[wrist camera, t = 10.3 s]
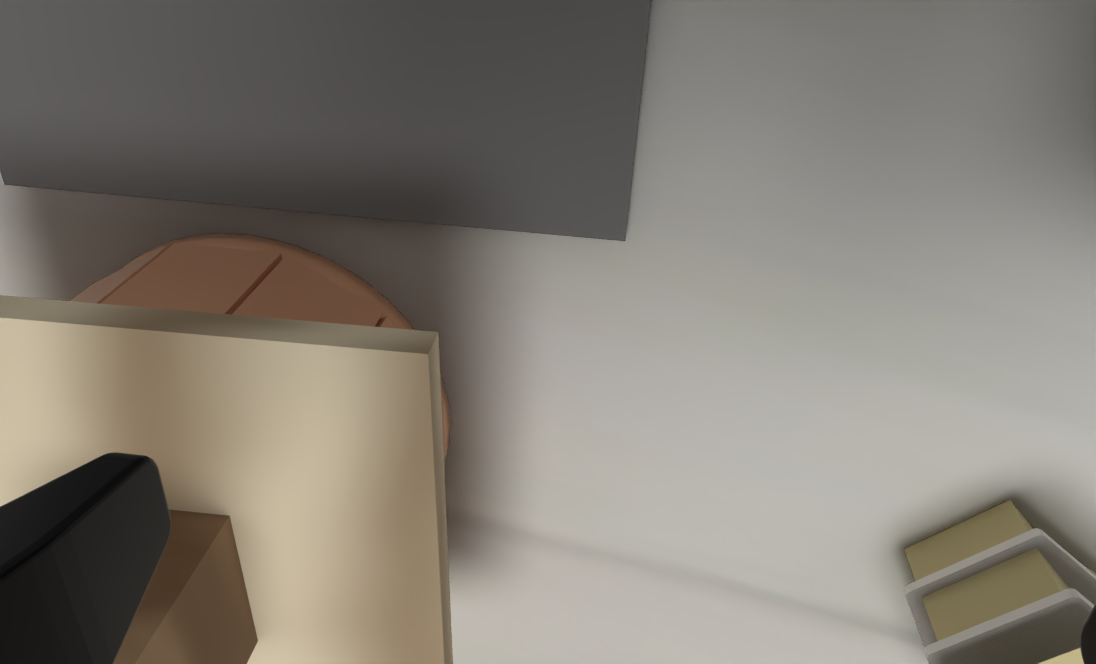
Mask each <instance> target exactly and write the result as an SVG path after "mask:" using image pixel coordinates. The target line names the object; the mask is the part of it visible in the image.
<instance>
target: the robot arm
mask: <svg viewBox="0 0 1096 664" xmlns="http://www.w3.org/2000/svg"><path fill="white" fill-rule="evenodd" d="M170 532H171V516H170V512H169V508H168V504H167V500H166V496H165V492H164V488H163V484H162V480H161V476H160V472H159V468H158V466H157V464H156V462H155V461H154V460H153V459H152V458H150V457H148V456H145V455H136V454H127V453H118V452H114V453H107V454H104V455H102V456H100V457H98V458H96V459H94V460H92V461H90V462H88V463H86V464H84V465H82V466H80V467H78V468H76V469H74V470H72V471H70V472H68V473H66V474H64V475H62V476H60V477H58V478H56V479H54V480H52V481H50V482H48V483H46V484H44V485H42V486H40V487H38V488H36V489H34V490H32V491H30V492H28V493H26V494H24V495H22V496H20V497H18V498H16V499H14V500H12V501H10V502H8V503H6V504H4V505H2V506H0V664H114V662H115V660H116V657H117V655H118V653H119V651H120V648H121V646H122V644H123V642H124V639H125V637H126V635H127V633H128V630H129V628H130V626H131V624H132V622H133V619H134V617H135V615H136V613H137V610H138V608H139V606H140V604H141V601H142V599H143V597H144V595H145V592H146V590H147V588H148V586H149V584H150V581H151V579H152V577H153V575H154V572H155V570H156V568H157V566H158V563H159V561H160V559H161V557H162V554H163V552H164V550H165V548H166V545H167V543H168V540H169V536H170ZM1080 649H1081V655H1082V659H1083V662H1084V664H1096V603H1095V605H1094V607H1093V609H1092V610H1091V612H1090V614H1089V616H1088V617H1087V619H1086V621H1085V622H1084V625H1083V627H1082V630H1081V635H1080Z"/></svg>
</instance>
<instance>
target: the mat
mask: <svg viewBox="0 0 1096 664" xmlns="http://www.w3.org/2000/svg"><path fill="white" fill-rule="evenodd" d="M650 8H651V0H0V171H1V174H2V178H3V181H4V184H5V185H13V186H24V187H35V188H46V189H57V190H68V191H79V192H90V193H101V194H112V195H123V196H134V197H145V198H156V199H167V200H178V201H189V202H200V203H211V204H222V205H233V206H244V207H255V208H266V209H277V210H288V211H299V212H310V213H321V214H332V215H343V216H354V217H365V218H376V219H387V220H398V221H409V222H420V223H431V224H442V225H453V226H464V227H475V228H486V229H497V230H508V231H519V232H530V233H541V234H552V235H563V236H574V237H585V238H596V239H607V240H618V241H625V239H626V230H627V221H628V211H629V202H630V193H631V184H632V174H633V165H634V156H635V147H636V137H637V128H638V119H639V110H640V100H641V91H642V82H643V72H644V63H645V54H646V45H647V35H648V26H649V17H650Z"/></svg>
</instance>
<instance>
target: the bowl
mask: <svg viewBox="0 0 1096 664" xmlns="http://www.w3.org/2000/svg"><path fill="white" fill-rule="evenodd" d="M71 301H74V302H86V303H98V304H110V305H122V306H134V307H146V308H158V309H170V310H182V311H194V312H206V313H218V314H230V315H242V316H254V317H266V318H278V319H290V320H302V321H313V322H325V323H337V324H349V325H361V326H373V327H385V328H397V329H409V330H414V328H413V327H412V326H411V324H410V323H409V322H408V320H407V319H406V318H405V317H404V316H403V315H402V314H401V313H400V312H399V311H398V310H397V309H396V308H395V307H394V306H393V305H392V303H391V302H390V301H388V300H387V299H386V298H385V297H384V296H382V295H381V294H380V293H379V292H378V291H376V290H375V289H374V288H373V287H372V286H371V285H369V284H368V283H366V282H365V281H363V280H362V279H360V278H359V277H357V276H356V275H355V274H353V273H352V272H350V271H349V270H347V269H345V268H343V267H342V266H340V265H338V264H336V263H334V262H332V261H330V260H328V259H326V258H324V257H323V256H320V255H318V254H315V253H313V252H310V251H308V250H305V249H303V248H300V247H298V246H295V245H291V244H288V243H284V242H280V241H277V240H273V239H269V238H263V237H256V236H250V235H243V234H208V235H198V236H190V237H186V238H182V239H178V240H174V241H170V242H167V243H165V244H162V245H160V246H158V247H155V248H153V249H150V250H148V251H146V252H145V253H143V254H142V255H140V256H139V257H137V258H135V259H134V260H132V261H131V262H129V263H128V264H127V265H125V266H124V267H123V268H121V269H120V270H118V271H116V272H114V273H113V274H111V275H109V276H107V277H105V278H103V279H101V280H99V281H97V282H95V283H93V284H92V285H90V286H89V287H88V288H86V289H85V290H84V291H82V292H81V293H80V294H79V295H77V296H76V297H75V298H73V299H72V300H71ZM440 383H441V406H442V428H443V451H444V474H445V459H446V454H447V450H448V446H449V440H450V424H451V423H450V412H449V403H448V399H447V395H446V391H445V387H444V383H443V380H442V378H441V375H440Z"/></svg>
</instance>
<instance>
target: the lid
mask: <svg viewBox="0 0 1096 664" xmlns="http://www.w3.org/2000/svg"><path fill="white" fill-rule="evenodd" d="M114 452H118V453H127V454H136V455H145V456H148V457H150V458H152V459H153V460H154V461H155V462H156V464H157V466H158V468H159V472H160V476H161V480H162V484H163V488H164V492H165V496H166V500H167V504H168V508H169V512H170V516H171V532H170V536H169V540H168V543H167V545H166V548H165V550H164V552H163V554H162V557H161V559H160V561H159V563H158V566H157V568H156V570H155V572H154V575H153V577H152V579H151V581H150V584H149V586H148V588H147V590H146V592H145V595H144V597H143V599H142V601H141V604H140V606H139V608H138V610H137V613H136V615H135V617H134V619H133V622H132V624H131V626H130V628H129V630H128V633H127V635H126V637H125V639H124V642H123V644H122V646H121V648H120V651H119V653H118V655H117V657H116V660H115V662H114V664H453V655H452V632H451V610H450V587H449V564H448V542H447V519H446V496H445V474H444V451H443V428H442V406H441V383H440V360H439V337H438V332H433V331H421V330H409V329H397V328H385V327H373V326H361V325H349V324H337V323H325V322H313V321H302V320H290V319H278V318H266V317H254V316H242V315H230V314H218V313H206V312H194V311H182V310H170V309H158V308H146V307H134V306H122V305H110V304H98V303H86V302H74V301H62V300H50V299H38V298H26V297H14V296H2V295H0V506H2V505H4V504H6V503H8V502H10V501H12V500H14V499H16V498H18V497H20V496H22V495H24V494H26V493H28V492H30V491H32V490H34V489H36V488H38V487H40V486H42V485H44V484H46V483H48V482H50V481H52V480H54V479H56V478H58V477H60V476H62V475H64V474H66V473H68V472H70V471H72V470H74V469H76V468H78V467H80V466H82V465H84V464H86V463H88V462H90V461H92V460H94V459H96V458H98V457H100V456H102V455H104V454H107V453H114Z"/></svg>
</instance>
